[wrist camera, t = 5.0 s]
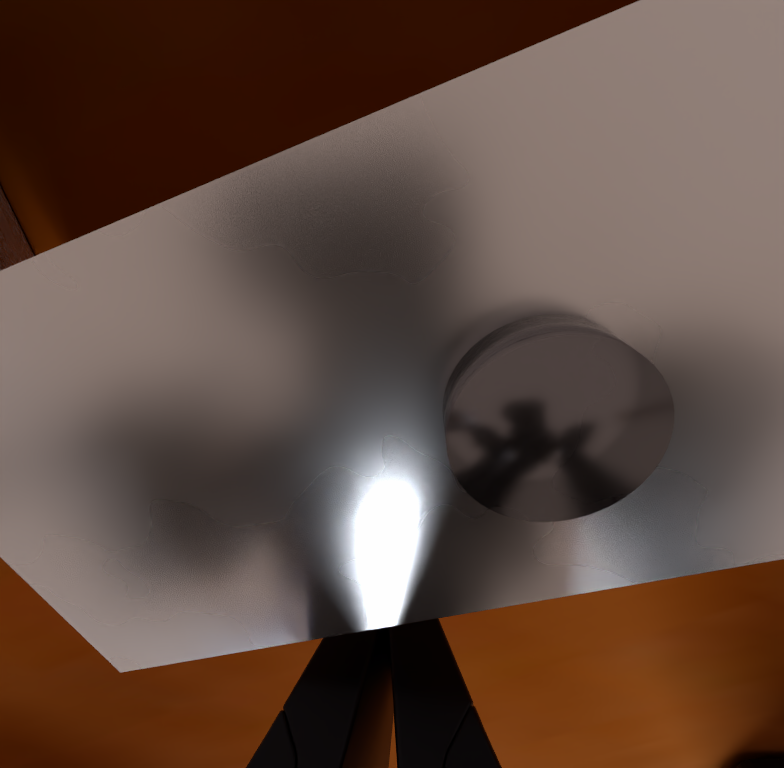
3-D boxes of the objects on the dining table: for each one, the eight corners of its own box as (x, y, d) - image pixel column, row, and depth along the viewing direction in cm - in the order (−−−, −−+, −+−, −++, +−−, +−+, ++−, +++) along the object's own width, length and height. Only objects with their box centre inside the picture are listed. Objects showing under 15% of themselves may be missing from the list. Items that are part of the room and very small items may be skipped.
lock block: (583, 80, 7) (968, -165, 2) (620, 391, 9) (833, 603, 4) (90, 276, 8) (-293, 381, 4) (229, 491, 11) (95, 713, 6)
